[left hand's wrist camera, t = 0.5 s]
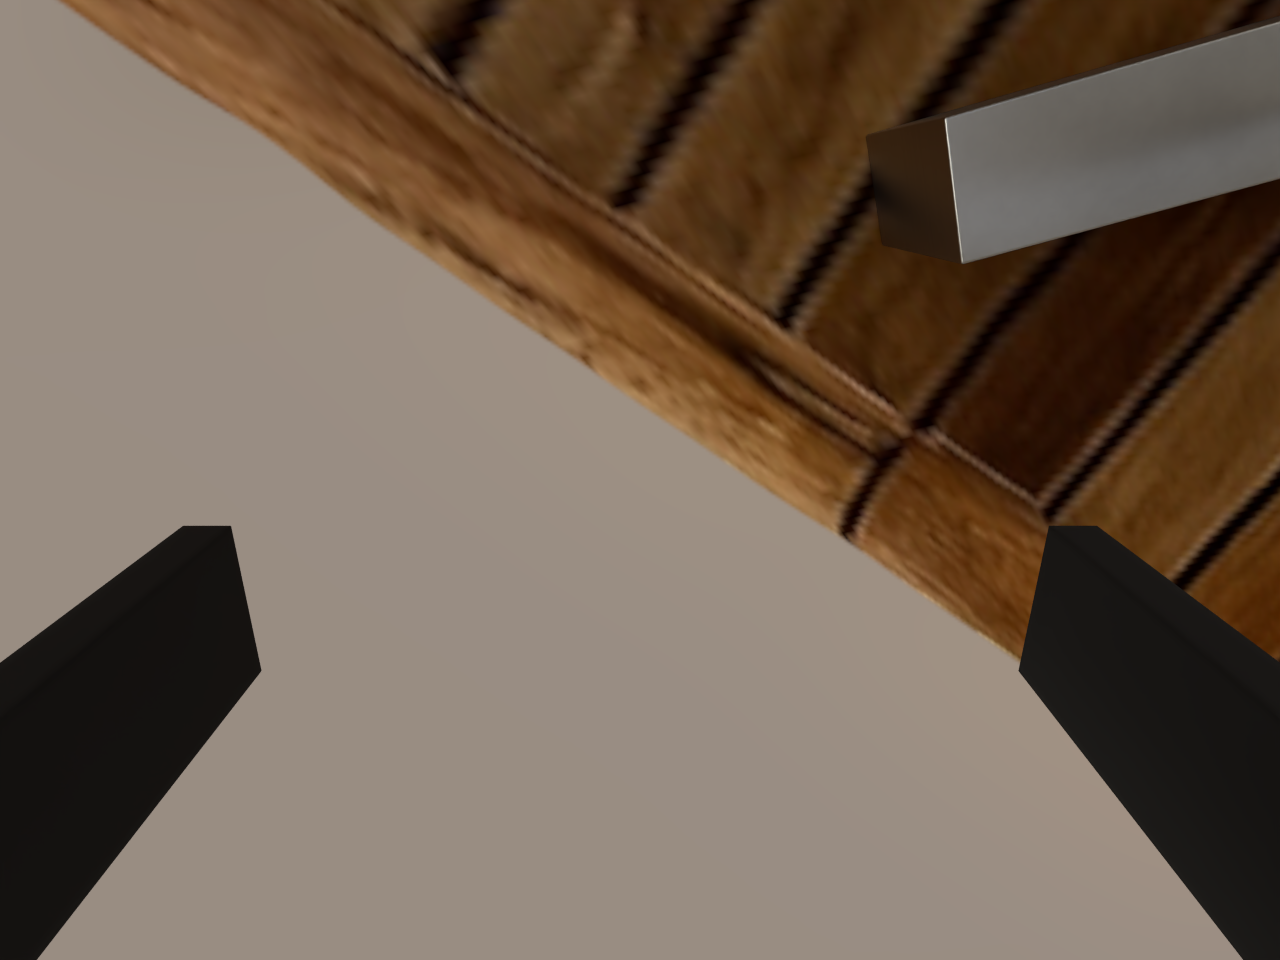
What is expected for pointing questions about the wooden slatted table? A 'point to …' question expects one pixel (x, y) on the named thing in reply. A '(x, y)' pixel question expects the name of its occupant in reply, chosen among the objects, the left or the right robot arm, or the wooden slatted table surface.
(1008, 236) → the bar
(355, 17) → the wooden slatted table surface
